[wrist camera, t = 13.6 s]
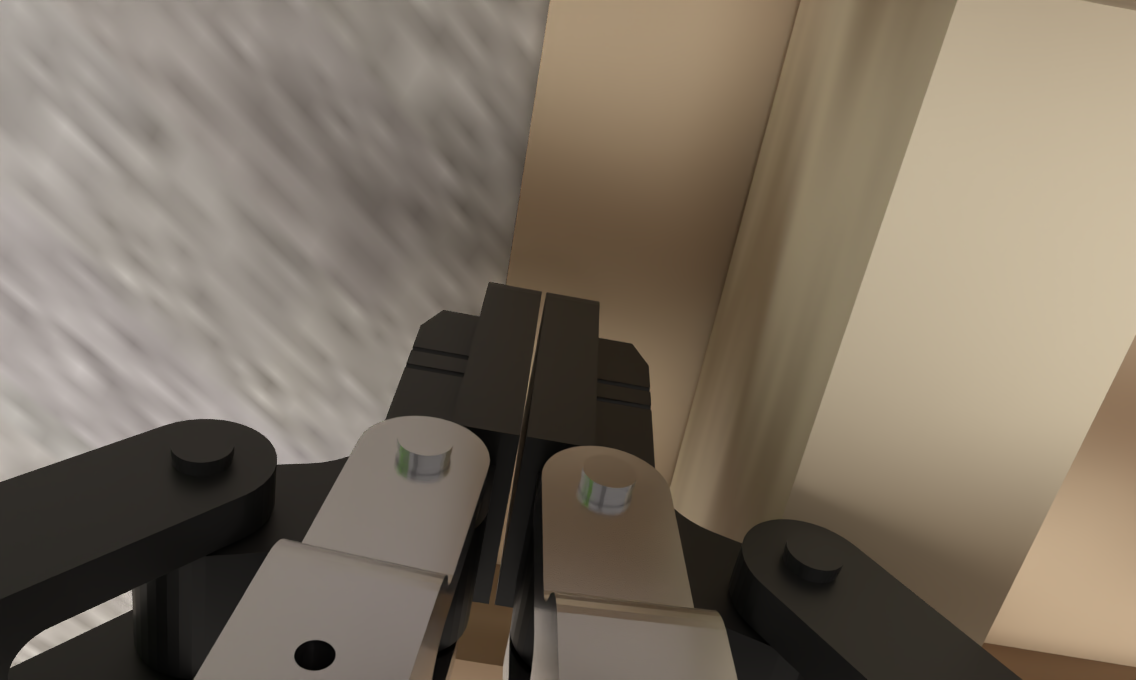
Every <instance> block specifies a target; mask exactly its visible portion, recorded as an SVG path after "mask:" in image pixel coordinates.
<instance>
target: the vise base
mask: <svg viewBox="0 0 1136 680" xmlns="http://www.w3.org/2000/svg"><path fill="white" fill-rule="evenodd" d="M800 1H801V0H550V3H549V9H548V16H547V22H546V29H545V35H544V41H543V48H542V54H541V61H540V67H539V74H538V80H537V87H536V93H535V100H534V106H533V112H532V119H531V125H530V132H529V138H528V145H527V151H526V158H525V164H524V171H523V177H522V183H521V190H520V196H519V203H518V209H517V216H516V222H515V229H514V235H513V241H512V248H511V254H510V261H509V267H508V274H507V280H506V285H509V286H514V287H520V288H526V289H531V290H537V291H542V295H541V302H540V309H539V315H538V322H537V328H536V335H535V342H534V348H533V355H532V362H531V368H530V375H529V381H528V388H529V382H530V377H531V371H532V366H533V361H534V355H535V350H536V345H537V339H538V334H539V329H540V323H541V318H542V313H543V307H544V302H545V297H546V293H547V292H549V293H554V294H560V295H565V296H571V297H577V298H582V299H588V300H593V301H599V302H600V310H599V338H603V339H609V340H615V341H620V342H626V343H632V344H633V345H634V347H635V348H636V349H637V351H638V352H639V353H640V355H641V356H642V357H643V359H644V360H645V361H646V363H647V364H648V365H649V376H650V391H649V392H650V393H651V410H652V425H653V442H654V458H655V469H656V470H657V471H658V472H659V473H660V474H661V475H662V476H663V477H664V478H665V480H666V482H667V484H668V485H669V488H670V486H671V482H672V478H673V475H674V471H675V467H676V463H677V460H678V456H679V452H680V448H681V445H682V441H683V437H684V434H685V430H686V426H687V422H688V419H689V415H690V411H691V407H692V404H693V400H694V396H695V393H696V389H697V385H698V381H699V378H700V374H701V370H702V366H703V363H704V359H705V355H706V352H707V348H708V344H709V340H710V337H711V333H712V329H713V325H714V322H715V318H716V314H717V311H718V307H719V303H720V299H721V296H722V292H723V288H724V284H725V281H726V277H727V273H728V269H729V266H730V262H731V258H732V255H733V251H734V247H735V243H736V240H737V236H738V232H739V228H740V225H741V221H742V217H743V214H744V210H745V206H746V202H747V199H748V195H749V191H750V187H751V184H752V180H753V176H754V173H755V169H756V165H757V161H758V158H759V154H760V150H761V146H762V143H763V139H764V135H765V132H766V128H767V124H768V120H769V117H770V113H771V109H772V105H773V102H774V98H775V94H776V90H777V87H778V83H779V79H780V76H781V72H782V68H783V64H784V61H785V57H786V53H787V49H788V46H789V42H790V38H791V35H792V31H793V27H794V23H795V20H796V16H797V12H798V8H799V5H800ZM528 388H527V393H528ZM526 398H527V395H526ZM525 404H526V401H525ZM524 410H525V408H524ZM523 415H524V414H523ZM518 446H519V445H518ZM517 453H518V451H517ZM516 459H517V456H516ZM515 466H516V461H515ZM514 472H515V467H514ZM514 472H513V477H512V483H511V488H510V493H509V499H508V504H507V509H506V515H505V520H504V525H503V531H502V536H501V542H500V547H499V552H498V558H497V563H496V568H495V574H494V579H493V584H492V590H491V595H490V600H489V604H485V603H478V602H472V605H471V610H470V616H469V621H468V624H467V628H466V629H465V631H464V633H463V634H462V636H461V637H460V638H459V643H458V649H457V654H456V660H455V663H454V666H453V670H452V673H451V677H450V680H503V663H504V657H505V652H506V647H507V642H508V637H509V632H510V627H511V620H512V612H513V608H511V607H505V606H499V605H495V598H496V591H497V585H498V578H499V572H500V565H501V558H502V552H503V545H504V539H505V532H506V525H507V519H508V512H509V506H510V499H511V492H512V486H513V479H514ZM982 648H984V649H985V650H986V651H987V652H989V653H990V654H991V655H992V656H994V657H995V658H996V659H997V660H999V661H1000V662H1001V663H1002V664H1004V665H1005V666H1006V667H1007V668H1009V669H1010V670H1011V671H1012V672H1014V673H1015V674H1016V675H1017V676H1019V677H1020V678H1021V679H1022V680H1136V335H1135V337H1134V339H1133V341H1132V343H1131V345H1130V347H1129V349H1128V351H1127V353H1126V355H1125V357H1124V359H1123V362H1122V364H1121V366H1120V368H1119V370H1118V372H1117V374H1116V376H1115V378H1114V380H1113V382H1112V384H1111V386H1110V388H1109V390H1108V392H1107V394H1106V396H1105V398H1104V400H1103V402H1102V404H1101V406H1100V408H1099V410H1098V412H1097V414H1096V416H1095V418H1094V420H1093V422H1092V424H1091V426H1090V428H1089V430H1088V432H1087V434H1086V436H1085V438H1084V440H1083V442H1082V445H1081V447H1080V449H1079V451H1078V453H1077V455H1076V457H1075V459H1074V461H1073V463H1072V465H1071V467H1070V469H1069V471H1068V473H1067V475H1066V477H1065V479H1064V481H1063V483H1062V485H1061V487H1060V489H1059V491H1058V493H1057V495H1056V497H1055V499H1054V501H1053V503H1052V505H1051V507H1050V509H1049V511H1048V513H1047V515H1046V517H1045V519H1044V521H1043V523H1042V526H1041V528H1040V530H1039V532H1038V534H1037V536H1036V538H1035V540H1034V542H1033V544H1032V546H1031V548H1030V550H1029V552H1028V554H1027V556H1026V558H1025V560H1024V562H1023V564H1022V566H1021V568H1020V570H1019V572H1018V574H1017V576H1016V578H1015V580H1014V582H1013V584H1012V586H1011V588H1010V590H1009V592H1008V594H1007V596H1006V598H1005V600H1004V602H1003V604H1002V606H1001V609H1000V611H999V613H998V615H997V617H996V619H995V621H994V623H993V625H992V627H991V629H990V631H989V633H988V635H987V637H986V639H985V641H984V643H983V645H982Z"/></svg>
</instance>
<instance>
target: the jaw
mask: <svg viewBox="0 0 1136 680" xmlns="http://www.w3.org/2000/svg"><path fill="white" fill-rule="evenodd" d="M1135 335H1136V0H801V1H800V5H799V8H798V12H797V16H796V20H795V23H794V27H793V31H792V35H791V38H790V42H789V46H788V49H787V53H786V57H785V61H784V64H783V68H782V72H781V76H780V79H779V83H778V87H777V90H776V94H775V98H774V102H773V105H772V109H771V113H770V117H769V120H768V124H767V128H766V132H765V135H764V139H763V143H762V146H761V150H760V154H759V158H758V161H757V165H756V169H755V173H754V176H753V180H752V184H751V187H750V191H749V195H748V199H747V202H746V206H745V210H744V214H743V217H742V221H741V225H740V228H739V232H738V236H737V240H736V243H735V247H734V251H733V255H732V258H731V262H730V266H729V269H728V273H727V277H726V281H725V284H724V288H723V292H722V296H721V299H720V303H719V307H718V311H717V314H716V318H715V322H714V325H713V329H712V333H711V337H710V340H709V344H708V348H707V352H706V355H705V359H704V363H703V366H702V370H701V374H700V378H699V381H698V385H697V389H696V393H695V396H694V400H693V404H692V407H691V411H690V415H689V419H688V422H687V426H686V430H685V434H684V437H683V441H682V445H681V448H680V452H679V456H678V460H677V463H676V467H675V471H674V475H673V478H672V482H671V486H670V491H671V495H672V500H673V505H674V509H675V510H677V511H678V512H679V513H680V514H681V515H683V516H684V517H686V518H687V519H689V520H690V521H692V522H694V523H695V524H697V525H699V526H701V527H703V528H705V529H707V530H710V531H712V532H714V533H717V534H720V535H722V536H725V537H727V538H730V539H732V540H735V541H737V542H740V543H742V542H743V539H744V536H745V535H746V534H747V532H748V531H749V530H750V529H751V528H752V527H754V526H755V525H757V524H759V523H761V522H765V521H769V520H776V519H791V520H798V521H804V522H808V523H812V524H815V525H818V526H821V527H824V528H826V529H828V530H830V531H832V532H835V533H836V534H838V535H840V536H842V537H843V538H845V539H846V540H848V541H849V542H851V543H852V544H853V545H855V546H856V547H857V548H859V549H860V550H861V551H862V552H864V553H865V554H866V555H867V556H869V557H870V558H871V559H872V560H874V561H875V562H876V563H877V564H879V565H880V566H881V567H882V568H884V569H885V570H886V571H887V572H889V573H890V574H891V575H892V576H894V577H895V578H896V579H897V580H899V581H900V582H901V583H902V584H904V585H905V586H906V587H907V588H909V589H910V590H911V591H912V592H914V593H915V594H916V595H917V596H919V597H920V598H921V599H922V600H924V601H925V602H926V603H927V604H929V605H930V606H931V607H932V608H934V609H935V610H936V611H937V612H939V613H940V614H941V615H942V616H944V617H945V618H946V619H947V620H949V621H950V622H951V623H952V624H954V625H955V626H956V627H957V628H959V629H960V630H961V631H962V632H964V633H965V634H966V635H967V636H969V637H970V638H971V639H972V640H974V641H975V642H976V643H977V644H979V645H980V646H981V647H982V645H983V643H984V641H985V639H986V637H987V635H988V633H989V631H990V629H991V627H992V625H993V623H994V621H995V619H996V617H997V615H998V613H999V611H1000V609H1001V606H1002V604H1003V602H1004V600H1005V598H1006V596H1007V594H1008V592H1009V590H1010V588H1011V586H1012V584H1013V582H1014V580H1015V578H1016V576H1017V574H1018V572H1019V570H1020V568H1021V566H1022V564H1023V562H1024V560H1025V558H1026V556H1027V554H1028V552H1029V550H1030V548H1031V546H1032V544H1033V542H1034V540H1035V538H1036V536H1037V534H1038V532H1039V530H1040V528H1041V526H1042V523H1043V521H1044V519H1045V517H1046V515H1047V513H1048V511H1049V509H1050V507H1051V505H1052V503H1053V501H1054V499H1055V497H1056V495H1057V493H1058V491H1059V489H1060V487H1061V485H1062V483H1063V481H1064V479H1065V477H1066V475H1067V473H1068V471H1069V469H1070V467H1071V465H1072V463H1073V461H1074V459H1075V457H1076V455H1077V453H1078V451H1079V449H1080V447H1081V445H1082V442H1083V440H1084V438H1085V436H1086V434H1087V432H1088V430H1089V428H1090V426H1091V424H1092V422H1093V420H1094V418H1095V416H1096V414H1097V412H1098V410H1099V408H1100V406H1101V404H1102V402H1103V400H1104V398H1105V396H1106V394H1107V392H1108V390H1109V388H1110V386H1111V384H1112V382H1113V380H1114V378H1115V376H1116V374H1117V372H1118V370H1119V368H1120V366H1121V364H1122V362H1123V359H1124V357H1125V355H1126V353H1127V351H1128V349H1129V347H1130V345H1131V343H1132V341H1133V339H1134V337H1135Z"/></svg>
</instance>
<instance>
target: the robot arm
mask: <svg viewBox="0 0 1136 680" xmlns="http://www.w3.org/2000/svg"><path fill="white" fill-rule="evenodd" d="M541 295H542V291H537V290H531V289H526V288H520V287H514V286H509V285H503V284H498V283H492V282H489V284H488V287H487V291H486V295H485V299H484V302H483V306H482V310H481V314H480V317H479V316H473V315H468V314H462V313H456V312H451V311H445V310H443V311H441V312H440V313H438V314H437V315H436V316H434V317H433V318H431V319H430V320H428V321H427V322H425V323H424V324H422V325H421V326H420V329H419V332H418V334H417V337H416V340H415V342H414V345H413V350H411V353H410V356H409V358H408V361H407V365H406V367H405V369H404V372H403V374H402V377H401V380H400V382H399V385H398V388H397V390H396V393H395V396H394V398H393V401H392V403H391V406H390V409H389V411H388V414H387V417H386V419H385V420H384V421H382V422H379V423H377V424H375V425H373V426H372V427H370V428H369V429H368V430H366V431H365V432H364V433H363V434H362V436H361V437H360V438H359V440H358V442H357V444H356V446H355V447H354V449H353V451H352V453H351V455H350V456H348V457H345V458H342V459H338V460H334V461H329V462H323V463H311V464H284V465H277V455H276V452H275V448H274V447H273V445H272V444H271V442H270V441H269V440H268V439H267V438H266V437H265V436H264V435H262V434H261V433H259V432H257V431H256V430H254V429H252V428H249V427H247V426H244V425H241V424H238V423H235V422H230V421H225V420H215V419H196V420H186V421H181V422H175V423H172V424H168V425H165V426H162V427H159V428H156V429H153V430H150V431H147V432H144V433H141V434H139V435H136V436H133V437H130V438H127V439H124V440H121V441H118V442H115V443H112V444H110V445H107V446H104V447H101V448H98V449H95V450H92V451H89V452H86V453H83V454H81V455H78V456H75V457H72V458H69V459H66V460H63V461H60V462H57V463H55V464H52V465H49V466H46V467H43V468H40V469H37V470H34V471H31V472H28V473H26V474H23V475H20V476H17V477H14V478H11V479H8V480H5V481H2V482H0V680H450V677H451V673H452V670H453V666H454V663H455V660H456V654H457V649H458V643H459V638H460V637H461V636H462V634H463V633H464V631H465V629H466V628H467V624H468V621H469V616H470V610H471V605H472V602H478V603H485V604H489V600H490V595H491V590H492V584H493V579H494V574H495V568H496V563H497V558H498V552H499V547H500V542H501V536H502V531H503V525H504V520H505V515H506V509H507V504H508V499H509V493H510V488H511V483H512V477H513V472H514V467H515V472H514V479H513V486H512V492H511V499H510V506H509V512H508V519H507V525H506V532H505V539H504V545H503V552H502V558H501V565H500V572H499V578H498V585H497V591H496V598H495V605H499V606H505V607H511V608H513V612H512V620H511V627H510V632H509V637H508V642H507V647H506V652H505V657H504V663H503V680H1022V679H1021V678H1020V677H1019V676H1017V675H1016V674H1015V673H1014V672H1012V671H1011V670H1010V669H1009V668H1007V667H1006V666H1005V665H1004V664H1002V663H1001V662H1000V661H999V660H997V659H996V658H995V657H994V656H992V655H991V654H990V653H989V652H987V651H986V650H985V649H984V648H982V647H981V646H980V645H979V644H977V643H976V642H975V641H974V640H972V639H971V638H970V637H969V636H967V635H966V634H965V633H964V632H962V631H961V630H960V629H959V628H957V627H956V626H955V625H954V624H952V623H951V622H950V621H949V620H947V619H946V618H945V617H944V616H942V615H941V614H940V613H939V612H937V611H936V610H935V609H934V608H932V607H931V606H930V605H929V604H927V603H926V602H925V601H924V600H922V599H921V598H920V597H919V596H917V595H916V594H915V593H914V592H912V591H911V590H910V589H909V588H907V587H906V586H905V585H904V584H902V583H901V582H900V581H899V580H897V579H896V578H895V577H894V576H892V575H891V574H890V573H889V572H887V571H886V570H885V569H884V568H882V567H881V566H880V565H879V564H877V563H876V562H875V561H874V560H872V559H871V558H870V557H869V556H867V555H866V554H865V553H864V552H862V551H861V550H860V549H859V548H857V547H856V546H855V545H853V544H852V543H851V542H849V541H848V540H846V539H845V538H843V537H842V536H840V535H838V534H836V533H835V532H832V531H830V530H828V529H826V528H824V527H821V526H818V525H815V524H812V523H808V522H804V521H798V520H791V519H776V520H769V521H765V522H761V523H759V524H757V525H755V526H754V527H752V528H751V529H750V530H749V531H748V532H747V534H746V535H745V536H744V539H743V542H742V543H740V542H737V541H735V540H732V539H730V538H727V537H725V536H722V535H720V534H717V533H714V532H712V531H710V530H707V529H705V528H703V527H701V526H699V525H697V524H695V523H694V522H692V521H690V520H689V519H687V518H686V517H684V516H683V515H681V514H680V513H679V512H678V511H677V510H675V509H674V505H673V500H672V495H671V491H670V488H669V485H668V484H667V482H666V480H665V478H664V477H663V476H662V475H661V474H660V473H659V472H658V471H657V470H656V469H655V458H654V442H653V425H652V410H651V393H650V392H649V391H650V376H649V365H648V364H647V363H646V361H645V360H644V359H643V357H642V356H641V355H640V353H639V352H638V351H637V349H636V348H635V347H634V345H633V344H632V343H626V342H620V341H615V340H609V339H603V338H599V310H600V302H599V301H593V300H588V299H582V298H577V297H571V296H565V295H560V294H554V293H549V292H547V293H546V297H545V302H544V307H543V313H542V318H541V323H540V329H539V334H538V339H537V345H536V350H535V355H534V361H533V366H532V371H531V377H530V382H529V388H528V381H529V375H530V368H531V362H532V355H533V348H534V342H535V335H536V328H537V322H538V315H539V309H540V302H541ZM527 388H528V393H527ZM526 395H527V398H526ZM525 401H526V404H525ZM524 408H525V410H524ZM523 414H524V415H523ZM518 445H519V446H518ZM517 451H518V453H517ZM516 456H517V459H516ZM515 461H516V466H515ZM130 590H132V600H133V610H131V611H129V612H127V613H125V614H123V615H121V616H119V617H117V618H114V619H112V620H110V621H108V622H106V623H104V624H102V625H100V626H98V627H96V628H93V629H91V630H89V631H87V632H85V633H83V634H81V635H79V636H77V637H75V638H72V639H70V640H68V641H66V642H64V643H62V644H60V645H58V646H56V647H54V648H51V649H49V650H47V651H45V652H43V653H41V654H39V655H37V656H35V657H33V658H30V659H28V660H26V661H24V662H22V663H20V664H18V665H16V666H14V667H12V668H10V666H11V664H12V661H13V660H14V658H15V657H16V655H17V654H18V652H19V651H20V650H21V649H22V648H23V647H24V646H25V645H26V644H27V643H28V642H29V641H30V640H31V639H32V638H34V637H35V636H36V635H38V634H39V633H41V632H42V631H44V630H46V629H48V628H50V627H52V626H54V625H56V624H58V623H60V622H63V621H65V620H67V619H69V618H71V617H74V616H76V615H78V614H80V613H82V612H84V611H87V610H89V609H91V608H93V607H95V606H97V605H100V604H102V603H104V602H106V601H108V600H110V599H113V598H115V597H117V596H119V595H121V594H123V593H126V592H128V591H130Z"/></svg>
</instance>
